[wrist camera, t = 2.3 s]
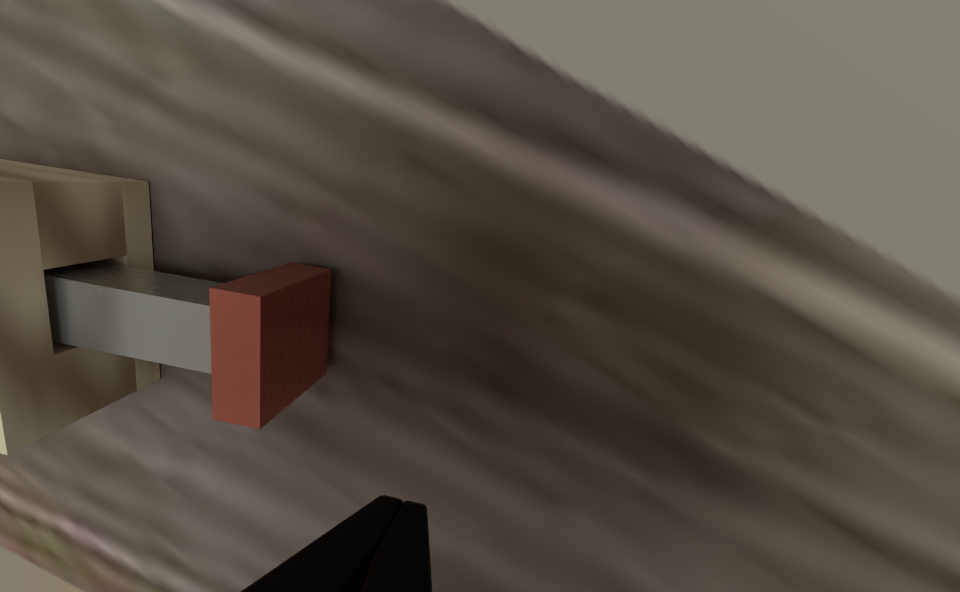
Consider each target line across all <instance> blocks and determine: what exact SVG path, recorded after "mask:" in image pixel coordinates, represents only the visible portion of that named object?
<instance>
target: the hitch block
mask: <svg viewBox="0 0 960 592" xmlns="http://www.w3.org/2000/svg"><path fill="white" fill-rule="evenodd" d="M91 261H101V262H107V263H112V264H118V265H124V266H129V267H135V268H140V269H146V270H152V271H154V264H153V247H152V230H151V213H150V196H149V182H148V181H142V180H135V179H129V178H122V177H116V176H109V175H103V174H96V173H89V172H83V171H76V170H70V169H63V168H57V167H50V166H44V165H37V164H30V163H24V162H17V161H11V160H4V159H0V453H1V454H5V455H9V454H11V453H13V452H15V451H17V450H19V449H21V448H23V447H25V446H27V445H29V444H31V443H33V442H35V441H37V440H39V439H41V438H43V437H45V436H47V435H49V434H51V433H53V432H55V431H57V430H59V429H61V428H63V427H65V426H67V425H69V424H71V423H73V422H75V421H77V420H79V419H81V418H83V417H85V416H87V415H89V414H91V413H93V412H95V411H97V410H99V409H101V408H103V407H105V406H107V405H109V404H111V403H113V402H115V401H117V400H119V399H121V398H123V397H125V396H127V395H129V394H131V393H133V392H135V391H137V390H139V389H141V388H143V387H145V386H147V385H149V384H151V383H153V382H155V381H157V380H159V379H160V365H159V363H156V362H151V361H146V360H142V359H137V358H132V357H127V356H122V355H117V354H112V353H107V352H102V351H98V350H93V349H88V348H83V347H78V346H73V345H68V344H63V343H58V342H54V341H52V336H51V328H50V320H49V312H48V304H47V296H46V288H45V280H44V272H43V270H44V269H50V268H56V267H62V266H68V265H73V264H79V263H85V262H91Z"/></svg>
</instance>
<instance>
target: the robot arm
mask: <svg viewBox="0 0 960 592" xmlns="http://www.w3.org/2000/svg"><path fill="white" fill-rule="evenodd" d="M241 592H432V580H431V564H430V548H429V532H428V516H427V507H426V505H424V504H420V503H416V502H412V501H405V502H404V503H403V501H402V500H401V499H398V498H394V497H390V496H385V495H382V496H379V497H378V498H376V499H375V500H373V501H372V502H370V503H369V504H367V505H366V506H364V507H363V508H361V509H360V510H359V511H357V512H356V513H354V514H353V515H351V516H350V517H348V518H347V519H345V520H344V521H343V522H341V523H340V524H338V525H337V526H335V527H334V528H332V529H331V530H329V531H328V532H327V533H325V534H324V535H322V536H321V537H319V538H318V539H316V540H315V541H313V542H312V543H311V544H309V545H308V546H306V547H305V548H303V549H302V550H300V551H299V552H297V553H296V554H295V555H293V556H292V557H290V558H289V559H287V560H286V561H284V562H283V563H281V564H280V565H279V566H277V567H276V568H274V569H273V570H271V571H270V572H268V573H267V574H265V575H264V576H263V577H261V578H260V579H258V580H257V581H255V582H254V583H252V584H251V585H249V586H248V587H247V588H245V589H244V590H242V591H241Z"/></svg>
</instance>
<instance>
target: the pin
mask: <svg viewBox="0 0 960 592" xmlns="http://www.w3.org/2000/svg"><path fill="white" fill-rule="evenodd" d="M43 272H44V280H45V288H46V296H47V304H48V312H49V320H50V328H51V336H52V341H54V342H58V343H63V344H68V345H73V346H78V347H83V348H88V349H93V350H98V351H102V352H107V353H112V354H117V355H122V356H127V357H132V358H137V359H142V360H146V361H151V362H156V363H161V364H166V365H171V366H176V367H181V368H185V369H190V370H195V371H200V372H205V373H210V374H211V375H212V412H213V419H215V420H220V421H224V422H229V423H234V424H238V425H243V426H247V427H252V428H257V429H261V428H262V427H263V426H264V425H266V424H267V423H268V422H269V421H270V420H271V419H273V418H274V417H275V416H276V415H277V414H279V413H280V412H281V411H282V410H283V409H285V408H286V407H287V406H288V405H289V404H290V403H292V402H293V401H294V400H295V399H296V398H298V397H299V396H300V395H301V394H302V393H304V392H305V391H306V390H307V389H308V388H309V387H311V386H312V385H313V384H314V383H315V382H317V381H318V380H319V379H320V378H321V377H323V376H324V375H325V374H326V371H327V349H328V327H329V305H330V284H331V269H327V268H322V267H316V266H310V265H304V264H298V263H292V262H291V263H288V264H284V265H281V266H278V267H275V268H271V269H268V270H265V271H262V272H258V273H255V274H252V275H249V276H245V277H242V278H239V279H236V280H232V281H229V282H226V283H219V282H213V281H208V280H202V279H197V278H191V277H185V276H180V275H174V274H168V273H163V272H157V271H152V270H146V269H140V268H135V267H129V266H124V265H118V264H112V263H107V262H101V261H91V262H85V263H79V264H73V265H68V266H62V267H56V268H50V269H44V270H43Z"/></svg>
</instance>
